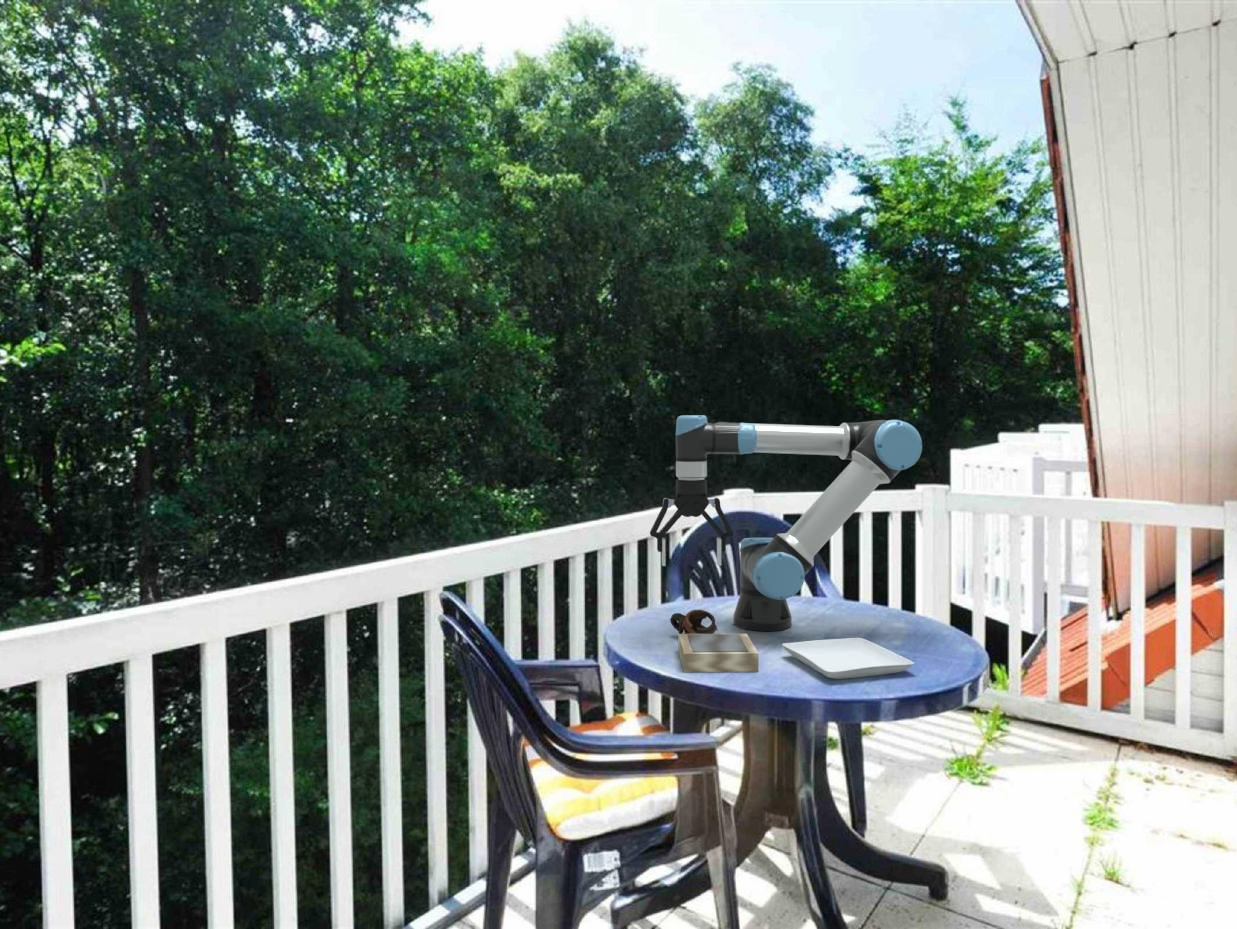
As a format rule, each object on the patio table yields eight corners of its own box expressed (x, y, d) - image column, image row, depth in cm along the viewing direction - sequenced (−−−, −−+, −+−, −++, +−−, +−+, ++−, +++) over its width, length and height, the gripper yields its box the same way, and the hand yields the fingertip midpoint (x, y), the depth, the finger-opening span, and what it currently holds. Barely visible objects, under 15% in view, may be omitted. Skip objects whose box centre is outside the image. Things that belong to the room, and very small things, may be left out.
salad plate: (917, 677, 176) (917, 661, 176) (828, 687, 170) (828, 670, 170) (860, 650, 197) (861, 635, 197) (779, 657, 191) (779, 643, 190)
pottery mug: (718, 636, 210) (723, 612, 205) (707, 661, 202) (712, 637, 198) (673, 621, 213) (676, 597, 208) (660, 645, 206) (664, 621, 201)
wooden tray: (746, 650, 195) (746, 632, 195) (758, 671, 179) (758, 652, 179) (678, 650, 195) (678, 633, 195) (684, 671, 179) (684, 652, 179)
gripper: (740, 477, 207) (739, 561, 208) (639, 477, 207) (640, 562, 208) (744, 479, 199) (744, 567, 200) (640, 480, 199) (641, 567, 200)
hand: (691, 565), depth 204 cm, fingers open, 13 cm apart
